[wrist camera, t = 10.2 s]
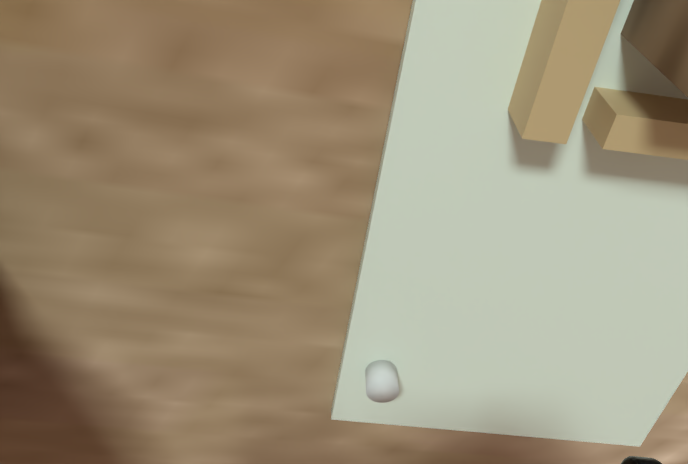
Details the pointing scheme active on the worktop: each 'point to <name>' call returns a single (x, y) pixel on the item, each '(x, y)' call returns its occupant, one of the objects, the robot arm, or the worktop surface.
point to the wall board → (524, 230)
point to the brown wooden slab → (661, 36)
